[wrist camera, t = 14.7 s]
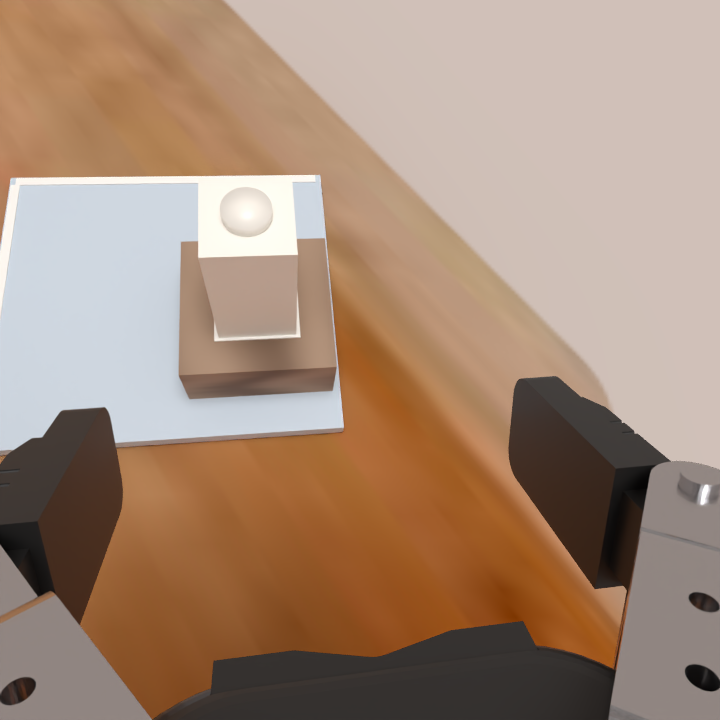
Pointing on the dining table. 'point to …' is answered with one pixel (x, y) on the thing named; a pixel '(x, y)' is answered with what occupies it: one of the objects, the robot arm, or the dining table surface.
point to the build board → (151, 319)
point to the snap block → (249, 254)
